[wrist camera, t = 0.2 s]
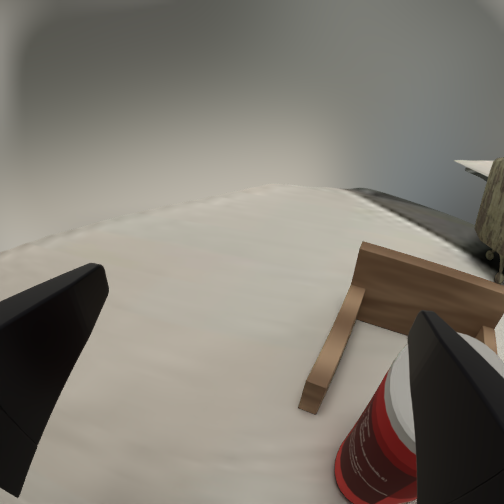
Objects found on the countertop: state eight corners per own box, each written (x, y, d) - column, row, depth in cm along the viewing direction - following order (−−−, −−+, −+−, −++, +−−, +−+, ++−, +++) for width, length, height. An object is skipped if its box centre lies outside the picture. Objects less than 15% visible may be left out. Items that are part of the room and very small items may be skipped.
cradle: (471, 456, 15) (532, 404, 11) (298, 407, 21) (315, 343, 17) (476, 345, 25) (509, 287, 21) (346, 306, 32) (362, 241, 27)
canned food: (440, 444, 17) (522, 358, 11) (398, 528, 12) (502, 483, 6) (365, 407, 21) (418, 309, 15) (310, 484, 16) (359, 419, 10)
